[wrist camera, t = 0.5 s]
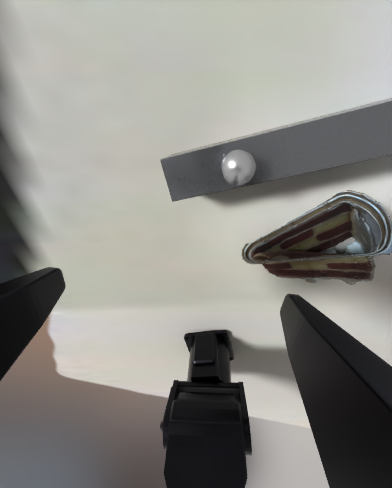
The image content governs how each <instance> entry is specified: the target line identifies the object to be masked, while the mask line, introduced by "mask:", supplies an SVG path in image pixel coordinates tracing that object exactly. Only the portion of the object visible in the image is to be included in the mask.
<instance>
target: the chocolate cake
mask: <svg viewBox="0 0 392 488" xmlns="http://www.w3.org/2000/svg"><path fill="white" fill-rule="evenodd" d="M350 237H353V238H355V242H354V243H352V244H350V245H348V246H347V247H346V252H345V253H344V254H338V253H337V250H336V249H335V246H336V245H337V244H339V243H341V242H343V241H344V240H346V239H348V238H350ZM390 253H392V224H391V221H390V216H388V214H387V213H385V211H384V209H383V207H382V206H381V204H380V202H379V203H377V202H376V201H373V200H372V198H370V197H368V196H366V195H365V194H364V193H359V192H355V191H352V190H351V191H350V190H347V191H343V192H338V193H337V194H336V195H335V196H333V197H332V198H330V199H329V200H327V201H325V202H323V203H322V204H321V205H319V206H317V207H315V208H314V209H312V210H310V211H308V212H306V213H305V214H303V215H302V216H300V217H298V218H296V219H293V220H292V221H290V222H288V223H287V224H286V225H284V226H282V227H281V228H279V229H277V230H275V231H273V232H271V233H270V234H267V235H266V236H264V237H261V238H260V239H258V240H256V241H255V242H253V243H248V244H245V245H244V246H243V249H242V254H241V255H242V260H244V261H245V262H247V263H249V264H262V265H263V266H264V267H265V268H266V269H267V270H268V271H269V272H270V273H272V274H274V275H276V276H277V277H284V278H300V279H305V280H306V281H307V282H310V283H315V282H317V278H320V279H339V280H343V281H345V282H346V283H347V284H350V285H352V284H355V283H356V282H359V281H371V280H372V279H373V278H374V268H375V264H374V260H373V257H374V256H373V255H381V254H388V255H390Z"/></svg>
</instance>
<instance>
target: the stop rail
mask: <svg viewBox="0 0 392 488" xmlns="http://www.w3.org/2000/svg"><path fill="white" fill-rule="evenodd" d="M387 155H392V98H391V99H387V100H383V101H379V102H375V103H371V104H367V105H364V106H360V107H356V108H352V109H348V110H344V111H340V112H336V113H332V114H328V115H325V116H321V117H317V118H313V119H309V120H305V121H301V122H297V123H293V124H290V125H286V126H282V127H278V128H274V129H270V130H266V131H262V132H258V133H255V134H251V135H247V136H243V137H239V138H235V139H231V140H227V141H223V142H220V143H216V144H212V145H208V146H204V147H200V148H196V149H192V150H188V151H185V152H181V153H177V154H173V155H171V156H168V157H166V158H163V159H161V160H160V161H161V164H162V168H163V171H164V174H165V178H166V181H167V185H168V188H169V192H170V195H171V198H172V202H173V201H178V200H182V199H187V198H192V197H196V196H201V195H206V194H210V193H215V192H220V191H224V190H229V189H234V188H238V187H243V186H248V185H252V184H257V183H262V182H266V181H271V180H276V179H280V178H285V177H290V176H294V175H299V174H304V173H308V172H313V171H318V170H322V169H327V168H332V167H336V166H341V165H346V164H350V163H355V162H360V161H364V160H369V159H373V158H378V157H383V156H387Z"/></svg>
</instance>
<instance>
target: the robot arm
mask: <svg viewBox="0 0 392 488" xmlns="http://www.w3.org/2000/svg"><path fill="white" fill-rule="evenodd" d="M64 289H65V281H64V278H63V274H62V271H61V270H60V269H59V268H53V267H48V268H45V269H42V270H39V271H36V272H33V273H30V274H27V275H24V276H21V277H18V278H15V279H13V280H10V281H7V282H4V283H1V284H0V381H1V379H2V378H3V377H4V375H5V374H6V373H7V371H8V370H9V369H10V367H11V366H12V365H13V363H14V362H15V361H16V360H17V358H18V357H19V356H20V354H21V353H22V351H23V350H24V349H25V348H26V346H27V345H28V344H29V342H30V341H31V340H32V338H33V337H34V336H35V334H36V333H37V332H38V330H39V329H40V328H41V326H42V325H43V323H44V322H45V320H46V319H47V317H48V316H49V314H50V312H51V311H52V309H53V308H54V306H55V304H56V303H57V301H58V300H59V298H60V296H61V295H62V293H63V292H64ZM280 316H281V321H282V326H283V331H284V336H285V341H286V346H287V351H288V355H289V358H290V362H291V365H292V368H293V371H294V375H295V378H296V381H297V384H298V387H299V391H300V394H301V397H302V400H303V403H304V407H305V410H306V413H307V416H308V419H309V423H310V426H311V429H312V432H313V435H314V439H315V442H316V445H317V448H318V451H319V455H320V458H321V461H322V464H323V468H324V471H325V474H326V477H327V480H328V484H329V487H330V488H392V366H390V365H389V364H388V363H386V362H385V361H384V360H382V359H381V358H380V357H379V356H377V355H376V354H375V353H373V352H372V351H371V350H369V349H368V348H367V347H366V346H364V345H363V344H362V343H360V342H359V341H358V340H356V339H355V338H354V337H353V336H351V335H350V334H349V333H347V332H346V331H345V330H343V329H342V328H341V327H339V326H338V325H337V324H336V323H334V322H333V321H332V320H330V319H329V318H328V317H326V316H325V315H324V314H323V313H321V312H320V311H319V310H317V309H316V308H315V307H313V306H312V305H311V304H310V303H308V302H307V301H306V300H304V299H303V298H302V297H300V296H299V295H295V294H287V295H286V296H285V299H284V302H283V304H282V307H281V310H280ZM184 339H185V342H186V344H187V347H188V350H189V352H190V360H189V369H188V379H187V381H178V380H174V383H173V387H171V391H170V395H169V399H168V403H167V406H166V410H165V413H164V416H163V419H162V421H161V425H160V429H161V431H162V432H163V446H164V449H165V450H166V460H165V468H164V476H165V481H166V486H167V488H245V484H246V481H247V468H246V457H245V455H252V447H251V434H250V425H249V417H248V411H247V405H246V399H245V392H244V386H243V382H238V383H231V374H230V361H231V360H233V359H234V356H233V352H232V347H231V343H230V339H229V334H228V331H226V330H223V331H212V332H201V333H191V334H185V336H184Z"/></svg>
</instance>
